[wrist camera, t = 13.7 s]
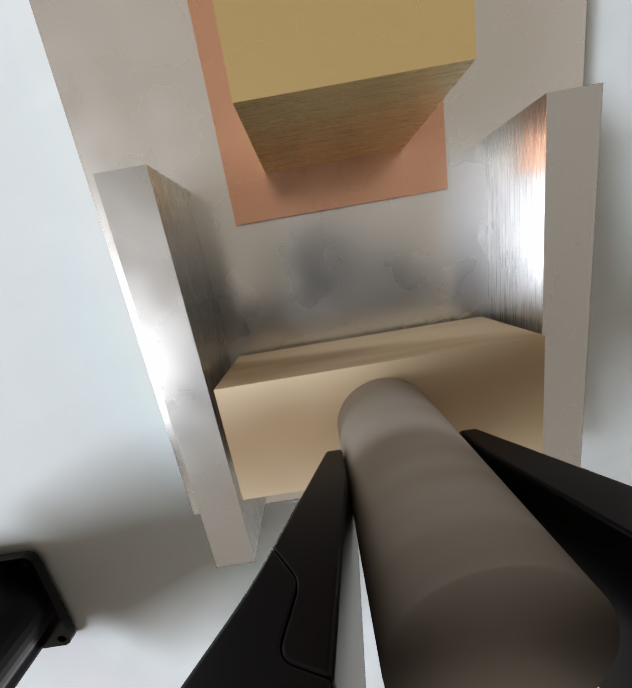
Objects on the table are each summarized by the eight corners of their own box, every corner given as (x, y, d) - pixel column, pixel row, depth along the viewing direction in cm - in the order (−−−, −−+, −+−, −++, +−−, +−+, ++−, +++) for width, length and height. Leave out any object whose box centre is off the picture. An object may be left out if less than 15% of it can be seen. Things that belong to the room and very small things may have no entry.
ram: (483, 405, 13) (862, 707, 4) (259, 441, 14) (158, 805, 4) (480, 316, 12) (965, 459, 3) (238, 356, 13) (54, 600, 3)
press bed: (542, 438, 16) (630, 503, 12) (204, 492, 16) (166, 575, 12) (559, -297, 10) (770, -767, 5) (-2, -184, 10) (-247, -539, 6)
